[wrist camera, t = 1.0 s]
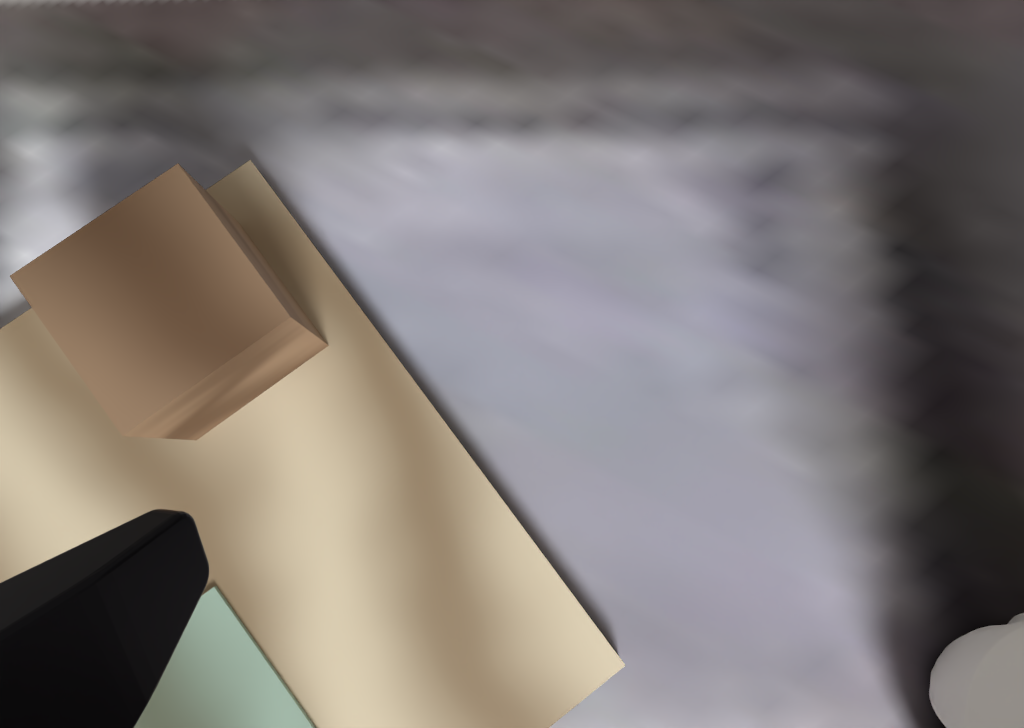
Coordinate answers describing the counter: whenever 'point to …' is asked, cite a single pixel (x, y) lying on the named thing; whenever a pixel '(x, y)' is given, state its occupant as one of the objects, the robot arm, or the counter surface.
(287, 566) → the birch board
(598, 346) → the counter surface
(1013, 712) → the water bottle
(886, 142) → the counter surface
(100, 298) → the walnut block
